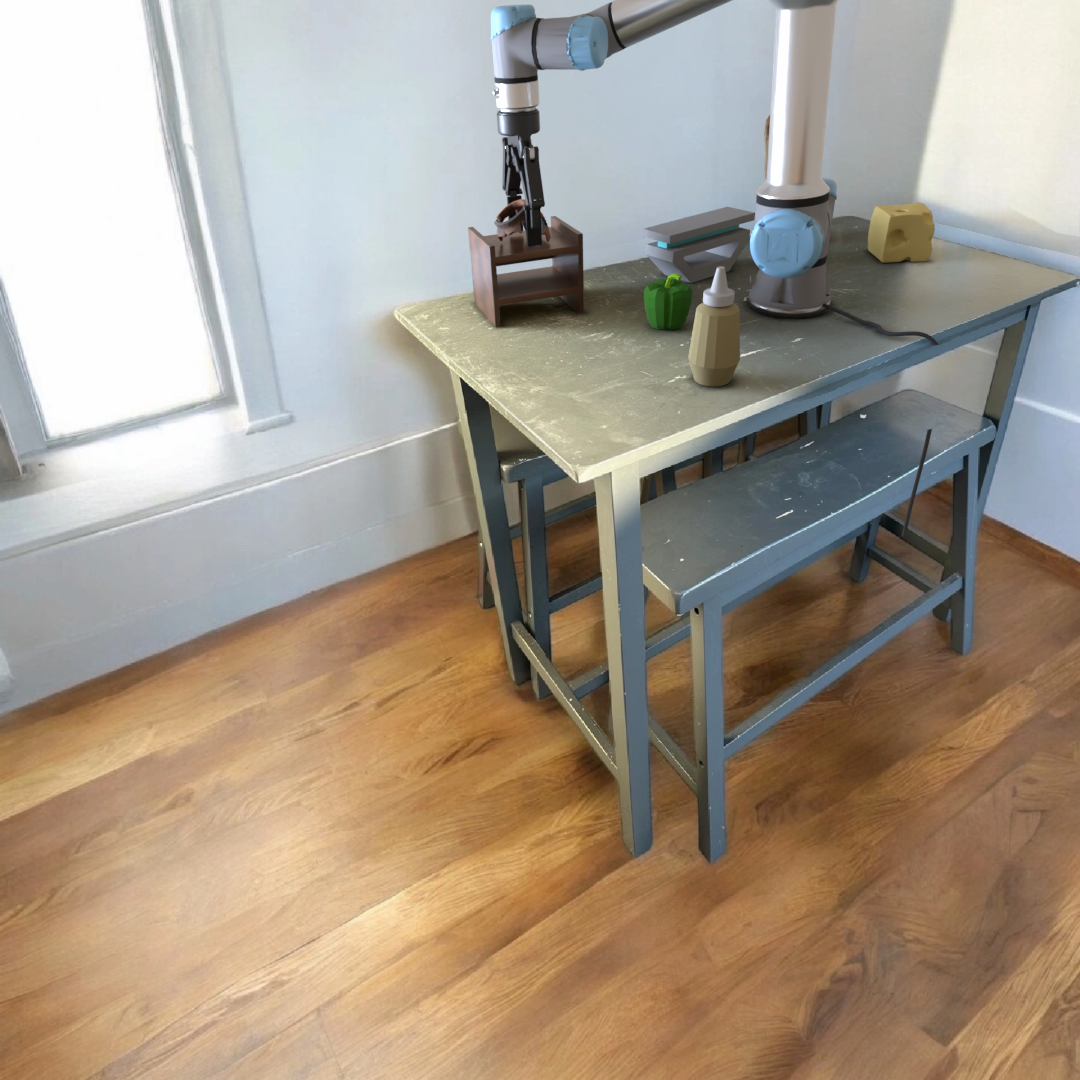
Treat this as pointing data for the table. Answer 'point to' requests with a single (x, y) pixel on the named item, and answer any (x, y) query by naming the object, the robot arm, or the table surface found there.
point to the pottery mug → (516, 221)
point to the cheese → (901, 232)
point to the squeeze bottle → (715, 335)
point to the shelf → (528, 283)
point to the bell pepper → (667, 302)
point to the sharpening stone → (699, 243)
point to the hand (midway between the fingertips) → (525, 238)
